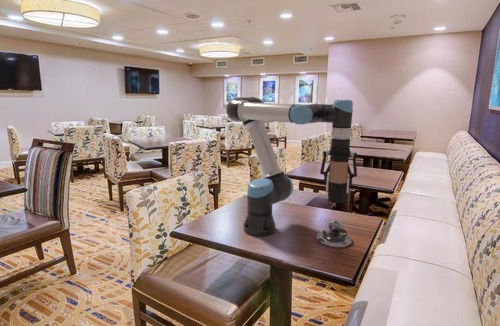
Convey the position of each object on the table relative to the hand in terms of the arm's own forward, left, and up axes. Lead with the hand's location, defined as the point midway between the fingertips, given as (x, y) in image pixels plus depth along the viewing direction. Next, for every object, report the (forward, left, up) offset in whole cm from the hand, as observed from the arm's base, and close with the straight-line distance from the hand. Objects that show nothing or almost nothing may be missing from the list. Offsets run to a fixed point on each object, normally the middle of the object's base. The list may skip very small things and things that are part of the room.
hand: (337, 191), depth 135 cm
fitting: (0, +3, -22) cm, 22 cm away
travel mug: (0, 0, -4) cm, 4 cm away
